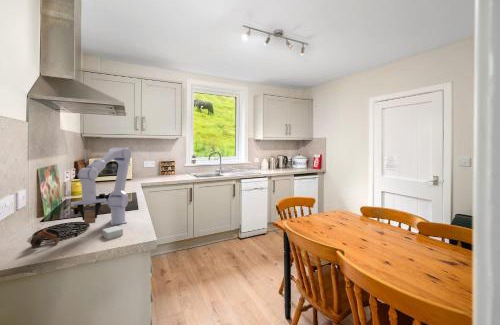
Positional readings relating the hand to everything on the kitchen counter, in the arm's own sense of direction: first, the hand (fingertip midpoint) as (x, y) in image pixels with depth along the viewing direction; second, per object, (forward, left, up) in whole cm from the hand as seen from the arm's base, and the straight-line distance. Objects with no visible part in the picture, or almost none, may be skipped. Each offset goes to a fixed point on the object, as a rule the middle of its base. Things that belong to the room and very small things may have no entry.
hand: (90, 218), depth 118 cm
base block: (+5, +9, -9) cm, 14 cm away
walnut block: (0, 0, -2) cm, 2 cm away
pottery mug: (+3, -17, -9) cm, 20 cm away
